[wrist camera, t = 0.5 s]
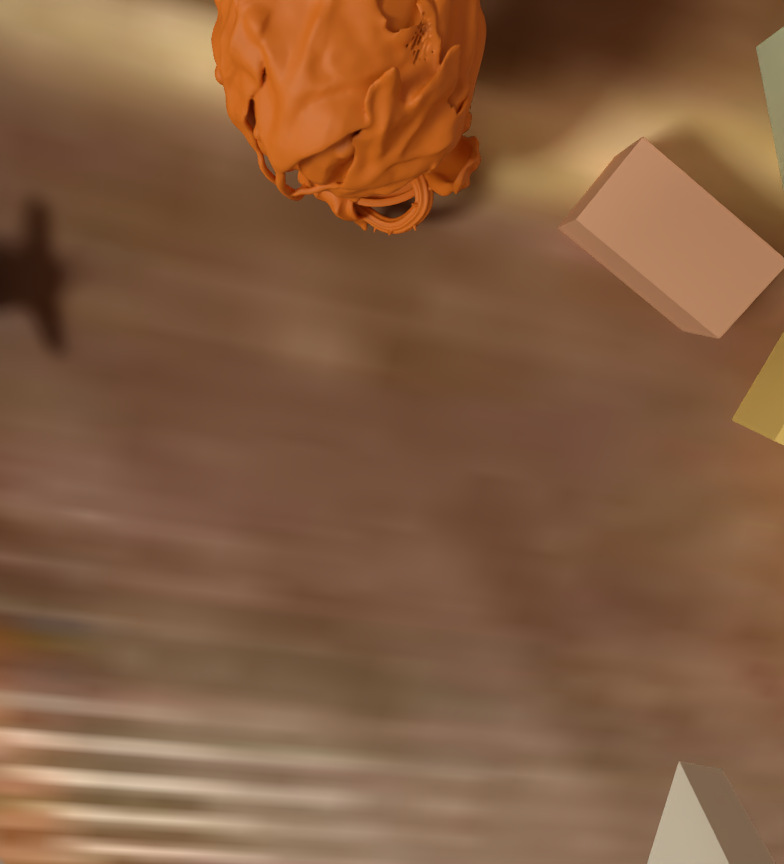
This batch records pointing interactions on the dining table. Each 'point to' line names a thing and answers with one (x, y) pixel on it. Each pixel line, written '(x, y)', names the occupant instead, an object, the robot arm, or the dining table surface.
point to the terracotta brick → (672, 241)
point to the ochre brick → (766, 398)
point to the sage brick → (774, 88)
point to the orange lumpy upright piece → (355, 98)
